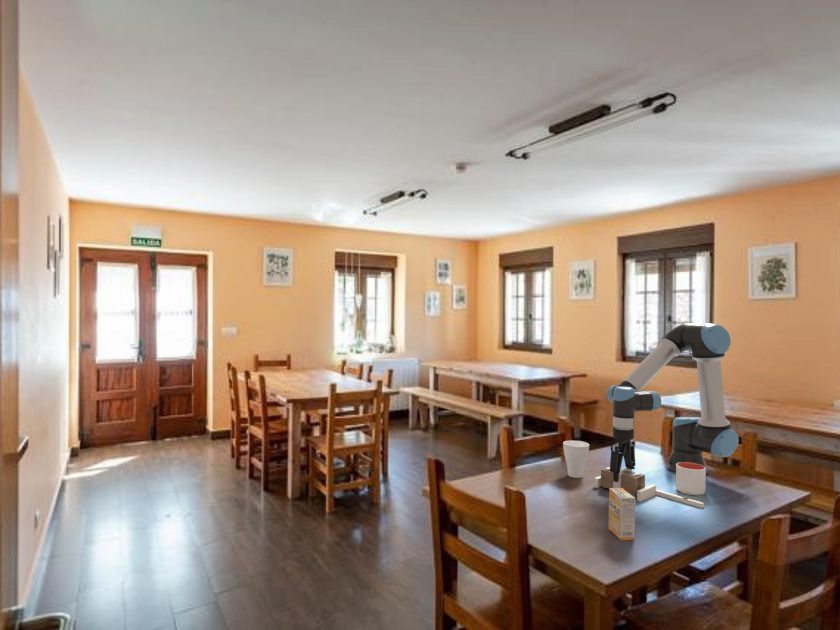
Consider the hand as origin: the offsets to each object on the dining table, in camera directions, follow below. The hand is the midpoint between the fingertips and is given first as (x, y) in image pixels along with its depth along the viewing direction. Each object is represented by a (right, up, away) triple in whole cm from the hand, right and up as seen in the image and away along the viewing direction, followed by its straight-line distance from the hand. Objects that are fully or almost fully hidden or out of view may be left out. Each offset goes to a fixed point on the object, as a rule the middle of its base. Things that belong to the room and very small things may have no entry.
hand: (622, 487), depth 196 cm
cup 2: (+26, -2, +1) cm, 26 cm away
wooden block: (0, -1, 0) cm, 1 cm away
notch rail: (+7, -2, -4) cm, 9 cm away
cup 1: (-12, -1, +18) cm, 22 cm away
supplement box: (-15, -2, -38) cm, 41 cm away
